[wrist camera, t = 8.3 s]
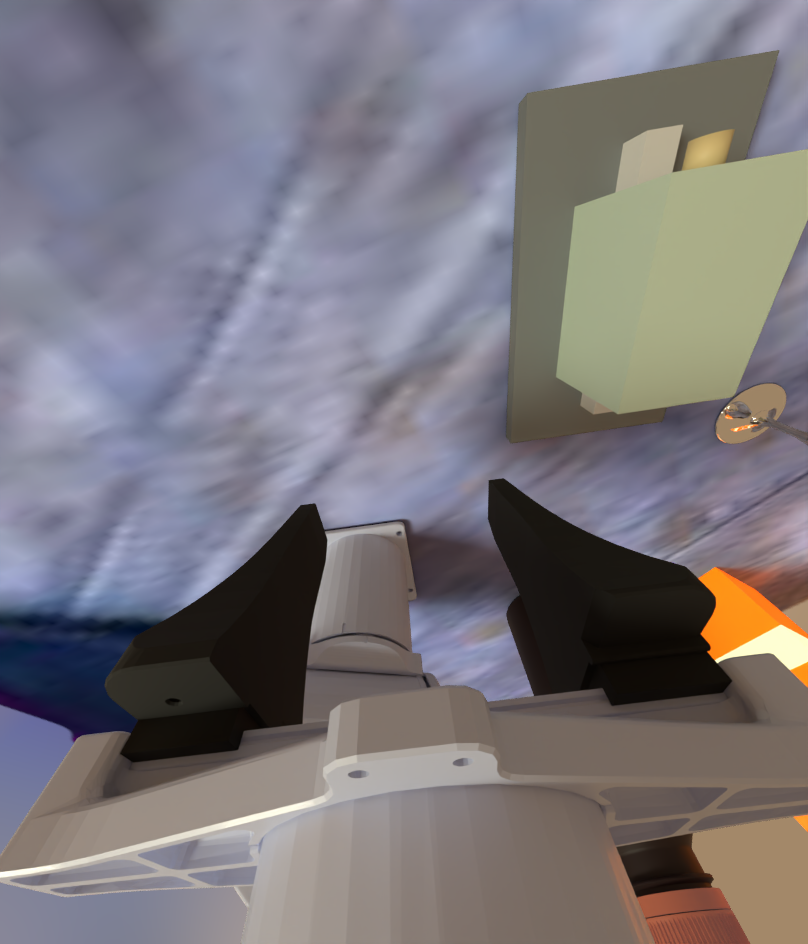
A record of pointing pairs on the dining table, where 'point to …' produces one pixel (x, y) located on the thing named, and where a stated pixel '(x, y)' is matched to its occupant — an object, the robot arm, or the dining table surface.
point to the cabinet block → (679, 277)
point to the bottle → (652, 850)
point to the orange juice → (752, 629)
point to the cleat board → (591, 177)
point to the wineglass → (754, 415)
